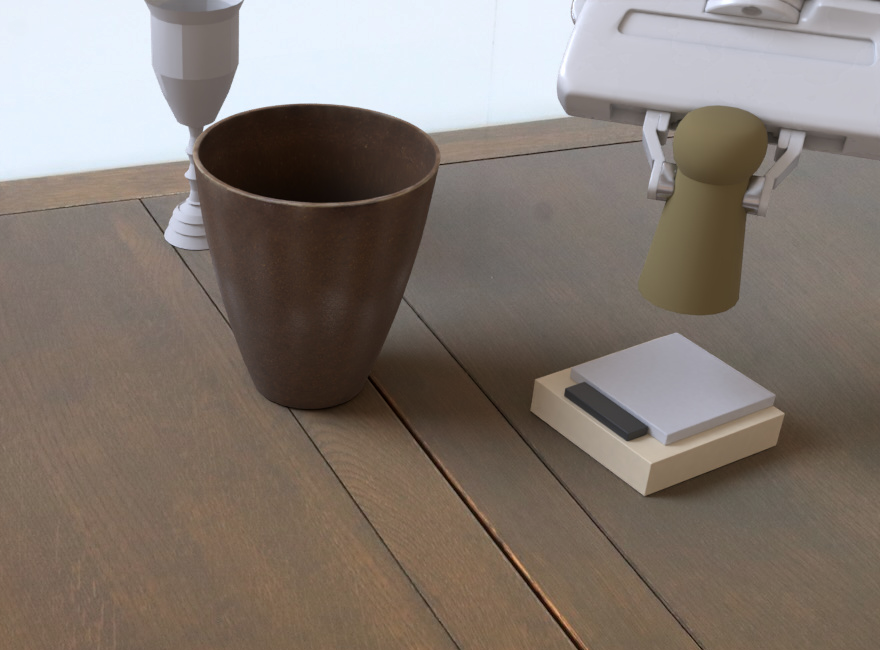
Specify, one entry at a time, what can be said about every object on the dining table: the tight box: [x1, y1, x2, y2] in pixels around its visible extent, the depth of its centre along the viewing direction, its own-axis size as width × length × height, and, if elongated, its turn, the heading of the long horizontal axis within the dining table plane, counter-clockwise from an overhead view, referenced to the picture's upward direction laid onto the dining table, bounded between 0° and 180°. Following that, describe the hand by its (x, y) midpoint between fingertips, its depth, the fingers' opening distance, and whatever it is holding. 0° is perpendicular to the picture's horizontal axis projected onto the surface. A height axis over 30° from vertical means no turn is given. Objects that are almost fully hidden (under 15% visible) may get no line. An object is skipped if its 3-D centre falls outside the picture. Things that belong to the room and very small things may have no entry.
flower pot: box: [192, 102, 441, 410], centre depth 100 cm, size 15×15×16 cm
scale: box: [530, 331, 786, 497], centre depth 100 cm, size 11×11×3 cm
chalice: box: [143, 0, 245, 251], centre depth 115 cm, size 7×7×18 cm
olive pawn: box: [637, 105, 769, 317], centre depth 92 cm, size 6×6×11 cm
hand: (706, 204), depth 91 cm, fingers closed on olive pawn, 4 cm apart
